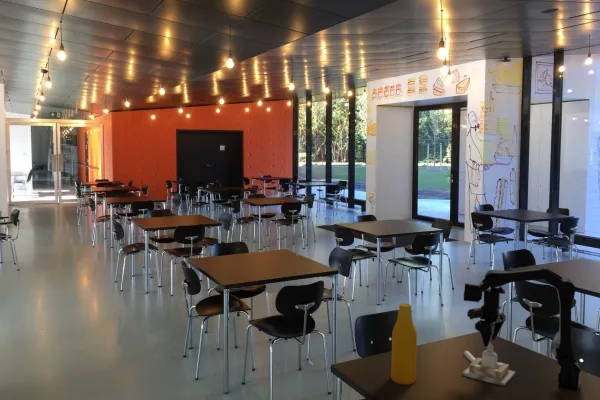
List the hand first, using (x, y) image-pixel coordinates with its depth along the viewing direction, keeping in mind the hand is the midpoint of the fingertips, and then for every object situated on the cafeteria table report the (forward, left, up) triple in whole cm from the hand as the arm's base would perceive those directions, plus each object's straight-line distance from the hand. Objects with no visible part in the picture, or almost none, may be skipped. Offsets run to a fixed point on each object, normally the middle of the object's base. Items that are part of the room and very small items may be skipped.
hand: (489, 343), depth 205 cm
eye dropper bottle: (0, 0, -12) cm, 12 cm away
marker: (+11, -11, -13) cm, 20 cm away
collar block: (0, 0, -13) cm, 13 cm away
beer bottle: (+24, +25, -13) cm, 37 cm away
